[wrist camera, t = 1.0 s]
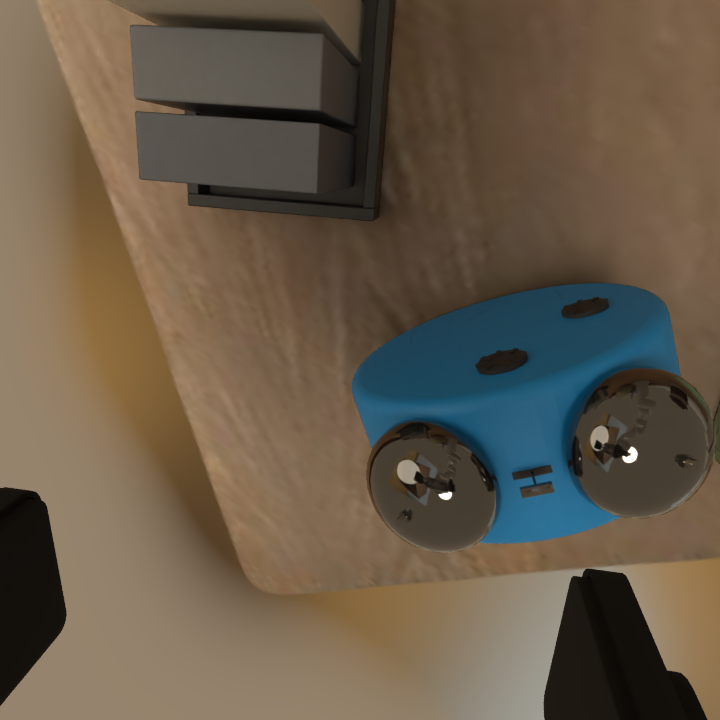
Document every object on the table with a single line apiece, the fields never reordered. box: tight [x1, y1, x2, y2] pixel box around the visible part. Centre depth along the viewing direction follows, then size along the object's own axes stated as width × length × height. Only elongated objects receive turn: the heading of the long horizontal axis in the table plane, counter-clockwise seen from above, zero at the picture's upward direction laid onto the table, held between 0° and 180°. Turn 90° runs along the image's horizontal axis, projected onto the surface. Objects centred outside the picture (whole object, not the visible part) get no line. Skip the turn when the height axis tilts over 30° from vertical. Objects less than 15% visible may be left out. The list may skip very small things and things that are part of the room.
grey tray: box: [185, 0, 396, 221], centre depth 26 cm, size 13×10×2 cm
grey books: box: [130, 25, 360, 194], centre depth 23 cm, size 11×7×8 cm, turn 176°
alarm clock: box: [352, 283, 716, 553], centre depth 23 cm, size 13×6×15 cm, turn 109°
